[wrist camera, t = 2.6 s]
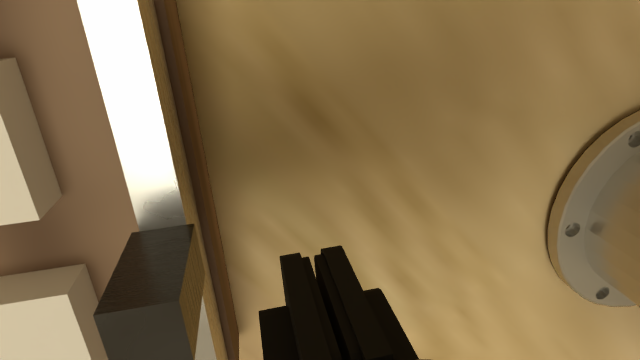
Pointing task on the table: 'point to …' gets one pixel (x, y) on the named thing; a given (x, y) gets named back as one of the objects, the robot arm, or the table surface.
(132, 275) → the bar
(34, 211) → the white tile
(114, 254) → the walnut board
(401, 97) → the table surface
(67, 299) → the white tile
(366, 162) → the table surface
